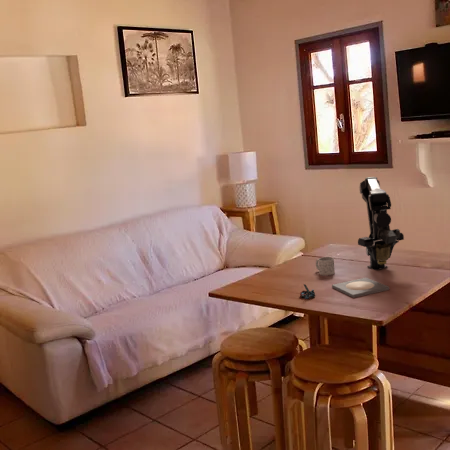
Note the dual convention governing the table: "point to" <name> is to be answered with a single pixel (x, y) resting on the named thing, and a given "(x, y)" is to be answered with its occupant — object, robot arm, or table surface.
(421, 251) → the table surface
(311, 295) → the dark blue lumpy piece
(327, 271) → the mug
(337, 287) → the board
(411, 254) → the table surface
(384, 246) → the brown mottled round piece
